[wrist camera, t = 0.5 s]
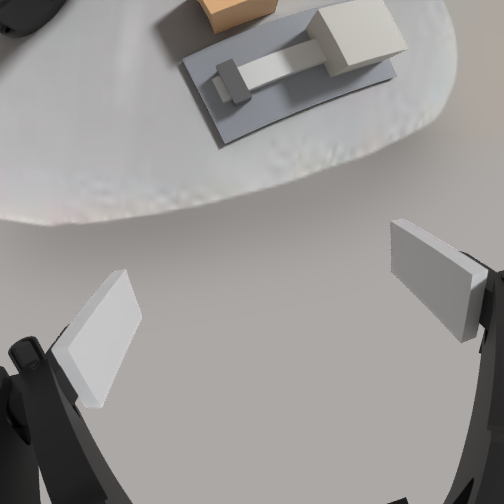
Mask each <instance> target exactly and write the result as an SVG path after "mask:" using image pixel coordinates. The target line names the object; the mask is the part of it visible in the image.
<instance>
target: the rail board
mask: <svg viewBox="0 0 504 504" xmlns="http://www.w3.org/2000/svg"><path fill="white" fill-rule="evenodd" d="M407 49H408V47H407V45H406V43H405V41H404V39H403V37H402V35H401V33H400V31H399V29H398V27H397V25H396V23H395V21H394V19H393V18H392V16H391V14H390V12H389V10H388V9H387V7H386V5H385V4H384V2H383V0H347V1H343V2H338V3H334V4H330V5H326V6H322V7H318V8H314V9H310V10H307V11H303V12H300V13H297V14H293V15H290V16H287V17H284V18H281V19H278V20H275V21H272V22H269V23H266V24H263V25H260V26H258V27H255V28H252V29H249V30H247V31H244V32H242V33H239V34H237V35H234V36H232V37H229V38H227V39H225V40H222V41H220V42H218V43H215V44H213V45H211V46H209V47H206V48H204V49H202V50H200V51H198V52H196V53H194V54H192V55H189V56H187V57H185V58H183V59H182V60H183V62H184V64H185V66H186V68H187V70H188V72H189V74H190V76H191V78H192V80H193V81H194V83H195V85H196V87H197V89H198V91H199V93H200V95H201V97H202V99H203V101H204V103H205V105H206V107H207V109H208V111H209V113H210V115H211V117H212V119H213V121H214V123H215V125H216V127H217V129H218V131H219V133H220V135H221V137H222V139H223V141H224V143H225V144H226V143H228V142H231V141H233V140H235V139H237V138H239V137H241V136H243V135H246V134H248V133H250V132H252V131H254V130H257V129H259V128H261V127H263V126H266V125H268V124H270V123H272V122H275V121H277V120H279V119H282V118H284V117H287V116H289V115H291V114H294V113H296V112H299V111H301V110H304V109H306V108H309V107H311V106H314V105H316V104H319V103H322V102H324V101H327V100H329V99H332V98H335V97H338V96H340V95H343V94H346V93H349V92H351V91H354V90H357V89H360V88H363V87H366V86H369V85H372V84H375V83H378V82H381V81H384V80H388V79H391V78H394V77H397V75H396V73H395V71H394V69H393V67H392V64H391V62H390V60H389V58H390V57H392V56H394V55H397V54H399V53H401V52H403V51H405V50H407Z"/></svg>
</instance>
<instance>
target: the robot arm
mask: <svg viewBox="0 0 504 504" xmlns="http://www.w3.org/2000/svg"><path fill="white" fill-rule="evenodd" d="M65 1H66V0H0V33H1V34H3V35H6V36H9V37H14V38H17V37H22V36H26V35H28V34H30V33H32V32H34V31H36V30H37V29H39V28H40V27H42V26H43V25H44V24H45V23H46V22H48V21H49V20H50V19H51V18H52V17H53V16H54V15H55V14H56V13H57V11H58V10H59V9H60V8H61V6H62V5H63V4H64V2H65ZM390 227H391V272H392V273H393V274H394V275H395V276H396V277H397V278H398V279H399V280H400V281H401V282H403V284H404V285H405V286H406V287H407V288H409V289H410V291H411V292H412V293H413V294H414V295H416V297H418V299H419V300H421V302H423V304H424V305H425V306H426V307H427V308H428V309H429V310H430V311H431V312H432V313H433V314H434V315H435V316H436V317H437V318H438V319H439V320H440V321H441V322H442V323H443V324H444V325H445V327H446V328H447V329H448V330H449V331H450V332H451V333H452V334H453V335H454V336H455V337H456V338H457V339H458V341H460V343H463V342H465V341H468V340H470V339H473V338H475V337H476V335H477V331H478V326H479V323H480V324H481V325H482V326H483V327H484V328H485V330H484V334H483V339H482V342H481V346H480V350H479V353H481V362H480V369H479V376H478V384H477V390H476V395H475V401H474V406H473V412H472V416H471V421H470V425H469V429H468V434H467V437H466V441H465V445H464V449H463V453H462V456H461V460H460V463H459V466H458V469H457V473H456V476H455V479H454V482H453V484H452V487H451V490H450V492H449V494H448V496H447V498H446V500H445V502H444V503H443V504H504V270H503V271H499V272H498V273H497V272H495V271H494V270H492V269H491V268H489V267H488V266H486V265H484V264H483V263H481V262H480V261H478V260H477V259H475V258H474V257H472V256H470V255H469V254H467V253H464V252H461V251H458V250H456V249H455V248H453V247H451V246H450V245H448V244H446V243H445V242H443V241H442V240H440V239H438V238H436V237H435V236H433V235H431V234H430V233H428V232H426V231H424V230H423V229H421V228H419V227H418V226H416V225H414V224H412V223H410V222H409V221H407V220H405V219H398V220H392V221H390ZM141 319H142V314H141V311H140V309H139V306H138V303H137V300H136V297H135V295H134V292H133V289H132V286H131V283H130V280H129V277H128V274H127V271H126V269H123V270H118V271H113V272H112V273H111V274H110V275H109V276H108V278H107V279H106V280H105V281H104V282H103V284H102V285H101V286H100V287H99V288H98V290H97V291H96V292H95V293H94V295H93V296H92V297H91V298H90V299H89V301H88V302H87V303H86V304H85V306H84V307H83V308H82V309H81V311H80V312H79V313H78V314H77V316H76V317H75V318H74V320H73V321H72V322H71V323H70V324H69V325H68V326H67V327H65V328H64V330H63V331H62V332H61V334H60V336H58V338H57V339H56V341H55V342H54V343H53V344H52V345H51V347H50V348H49V350H48V351H47V352H46V354H45V353H44V351H43V349H42V348H41V346H40V344H39V342H38V340H37V339H36V337H33V336H30V337H26V338H23V339H21V340H19V341H18V342H16V343H15V344H14V345H12V346H11V348H10V349H9V351H8V354H9V356H10V358H11V360H12V362H13V363H14V365H15V367H16V368H17V370H18V372H19V374H16V375H12V376H9V375H8V373H7V371H6V370H5V368H4V367H2V366H0V504H41V502H40V490H39V468H40V471H41V474H42V477H43V480H44V483H45V486H46V489H47V492H48V494H49V497H50V500H51V503H52V504H132V502H131V501H130V499H129V498H128V496H127V495H126V493H125V492H124V490H123V489H122V487H121V485H120V484H119V482H118V481H117V479H116V478H115V476H114V474H113V473H112V471H111V469H110V468H109V466H108V464H107V463H106V461H105V459H104V457H103V456H102V454H101V452H100V450H99V448H98V447H97V445H96V443H95V441H94V439H93V438H92V435H91V434H90V431H89V430H88V428H87V426H86V424H85V422H84V419H83V417H82V415H81V413H80V411H79V409H78V408H77V406H76V405H75V401H76V399H77V398H78V397H79V399H80V400H81V401H82V403H83V405H84V406H85V407H86V408H102V407H103V404H104V402H105V400H106V397H107V395H108V392H109V390H110V387H111V385H112V383H113V381H114V378H115V376H116V374H117V372H118V369H119V367H120V364H121V362H122V360H123V358H124V356H125V354H126V351H127V349H128V347H129V345H130V343H131V341H132V338H133V336H134V334H135V332H136V330H137V328H138V326H139V323H140V321H141ZM38 465H39V468H38ZM388 504H408V501H407V499H406V497H405V498H402V499H400V500H397V501H394V502H391V503H388Z"/></svg>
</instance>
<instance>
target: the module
mask: <svg viewBox="0 0 504 504" xmlns="http://www.w3.org/2000/svg"><path fill="white" fill-rule="evenodd" d="M196 1H197V2H199V3H200V5H201V6H202V8H203V10H204V12H205V13H206V15H207V17H208V19H209V20H210V24H211V27H212V29H213V31H214V32H215V34H218V33H221V32H223V31H225V30H228V29H230V28H233V27H235V26H238V25H240V24H243V23H245V22H248V21H251V20H254V19H256V18H259V17H262V16H265V15H268V14H271V13H274V12H275V10H276V6H277V3H278V0H196Z"/></svg>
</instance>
